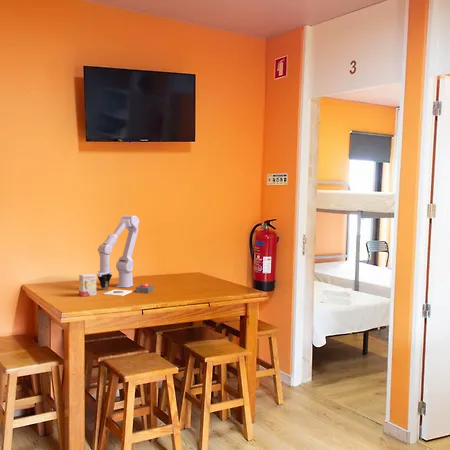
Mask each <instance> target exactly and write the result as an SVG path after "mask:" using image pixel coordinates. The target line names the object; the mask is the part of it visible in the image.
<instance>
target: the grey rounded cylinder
mask: <svg viewBox="0 0 450 450" xmlns="http://www.w3.org/2000/svg"><path fill="white" fill-rule="evenodd" d="M101 291H109V285H108V281H106V284H105V288H101Z"/></svg>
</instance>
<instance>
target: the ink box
mask: <svg viewBox="0 0 450 450" xmlns="http://www.w3.org/2000/svg"><path fill="white" fill-rule="evenodd" d="M96 295H97V275H96V273H83V274H82V273H81V274H79V275H78V296H80V297H84V298H85V297H90V296H96Z"/></svg>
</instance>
